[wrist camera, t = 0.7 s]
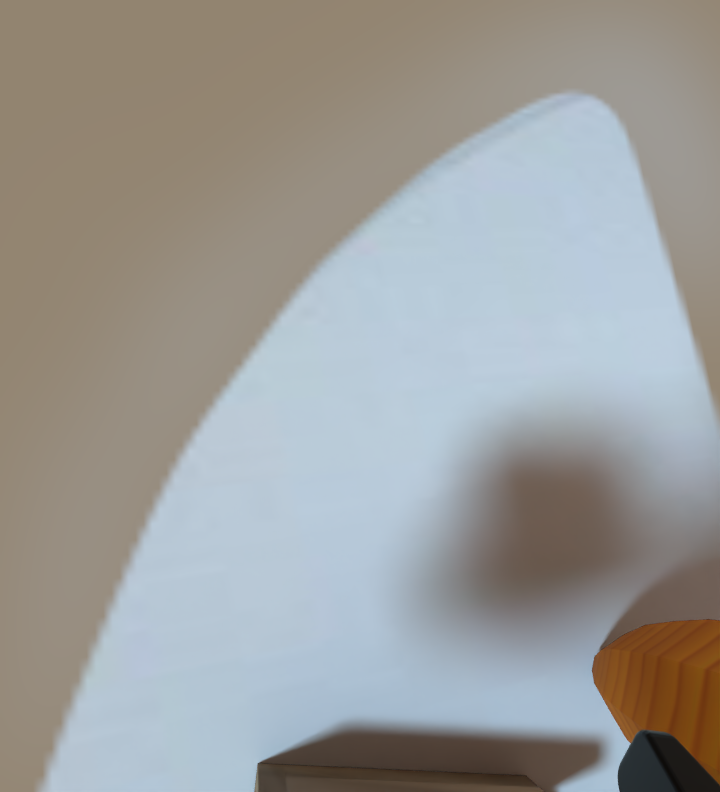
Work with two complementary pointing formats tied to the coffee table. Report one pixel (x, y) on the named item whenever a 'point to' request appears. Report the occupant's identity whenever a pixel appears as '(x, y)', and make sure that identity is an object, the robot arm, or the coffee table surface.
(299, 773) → the wooden tray
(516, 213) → the coffee table surface
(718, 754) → the carrot
